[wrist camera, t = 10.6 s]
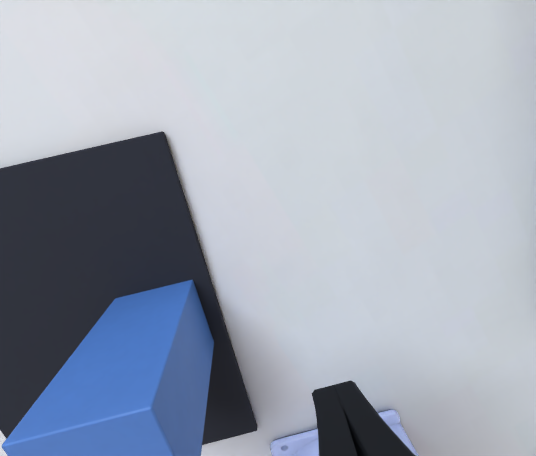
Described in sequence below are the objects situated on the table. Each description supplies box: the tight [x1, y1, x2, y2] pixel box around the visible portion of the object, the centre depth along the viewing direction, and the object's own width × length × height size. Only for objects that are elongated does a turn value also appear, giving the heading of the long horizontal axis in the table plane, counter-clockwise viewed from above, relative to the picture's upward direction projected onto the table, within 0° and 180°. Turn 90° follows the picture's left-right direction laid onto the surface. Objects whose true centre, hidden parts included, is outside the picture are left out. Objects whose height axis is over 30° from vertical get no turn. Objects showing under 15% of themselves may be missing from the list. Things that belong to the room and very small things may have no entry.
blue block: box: [2, 280, 214, 456], centre depth 13 cm, size 4×4×8 cm
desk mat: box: [0, 132, 257, 445], centre depth 17 cm, size 15×20×1 cm
